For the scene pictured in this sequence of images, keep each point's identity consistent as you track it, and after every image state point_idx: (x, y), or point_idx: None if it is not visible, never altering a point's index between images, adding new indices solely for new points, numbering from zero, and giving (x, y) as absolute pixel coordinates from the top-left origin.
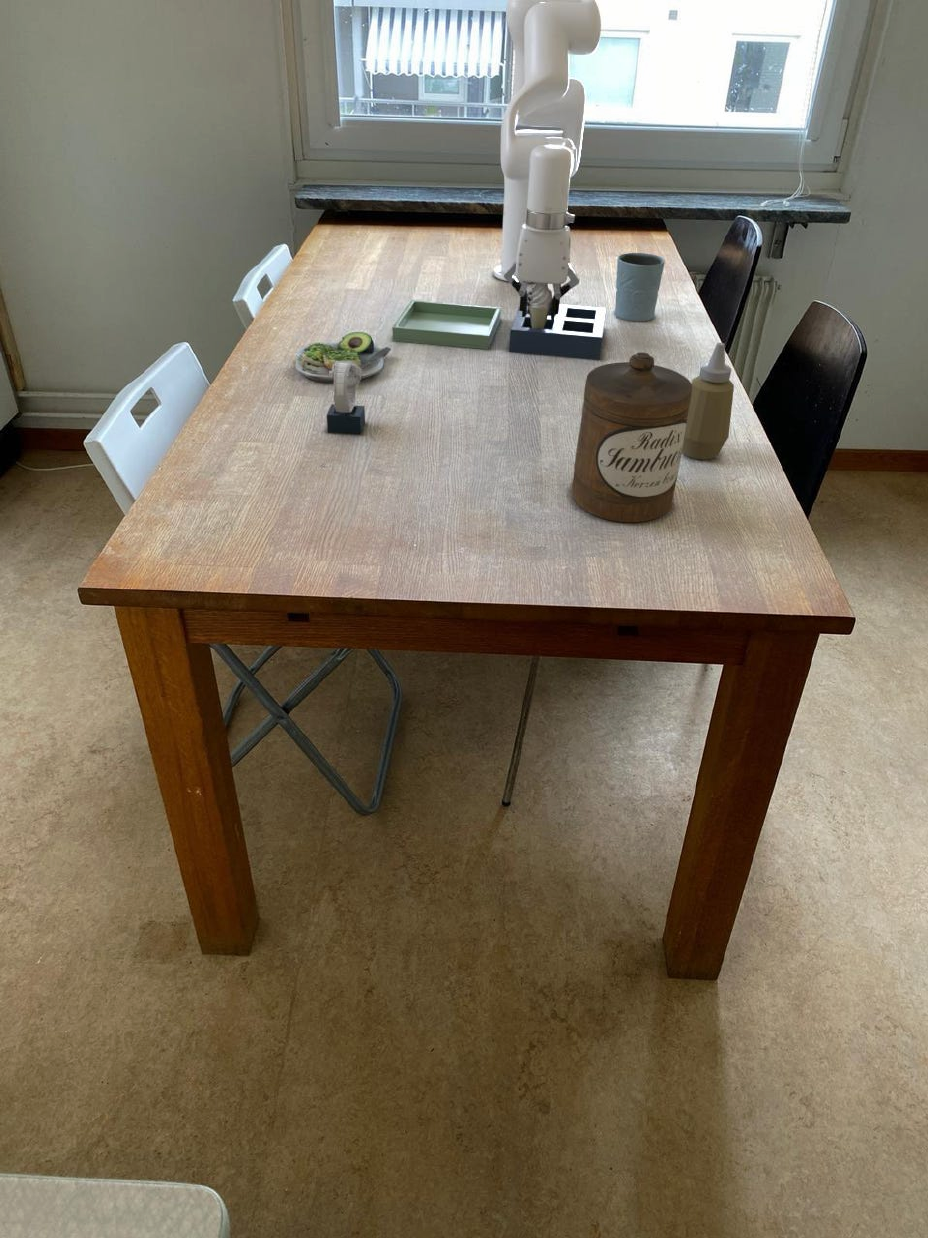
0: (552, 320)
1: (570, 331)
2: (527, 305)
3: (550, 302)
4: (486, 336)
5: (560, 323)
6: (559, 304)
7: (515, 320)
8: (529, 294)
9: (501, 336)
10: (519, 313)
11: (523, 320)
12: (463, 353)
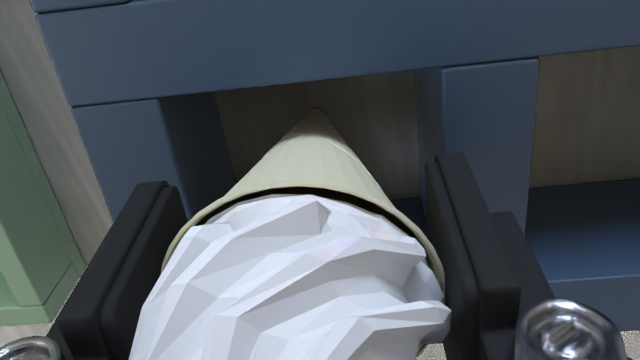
0: (419, 65)
1: (588, 282)
2: (162, 240)
3: (431, 342)
4: (41, 321)
5: (504, 150)
6: (532, 261)
7: (120, 203)
8: (144, 351)
9: (45, 46)
10: (66, 20)
11: (179, 184)
12: (8, 337)
